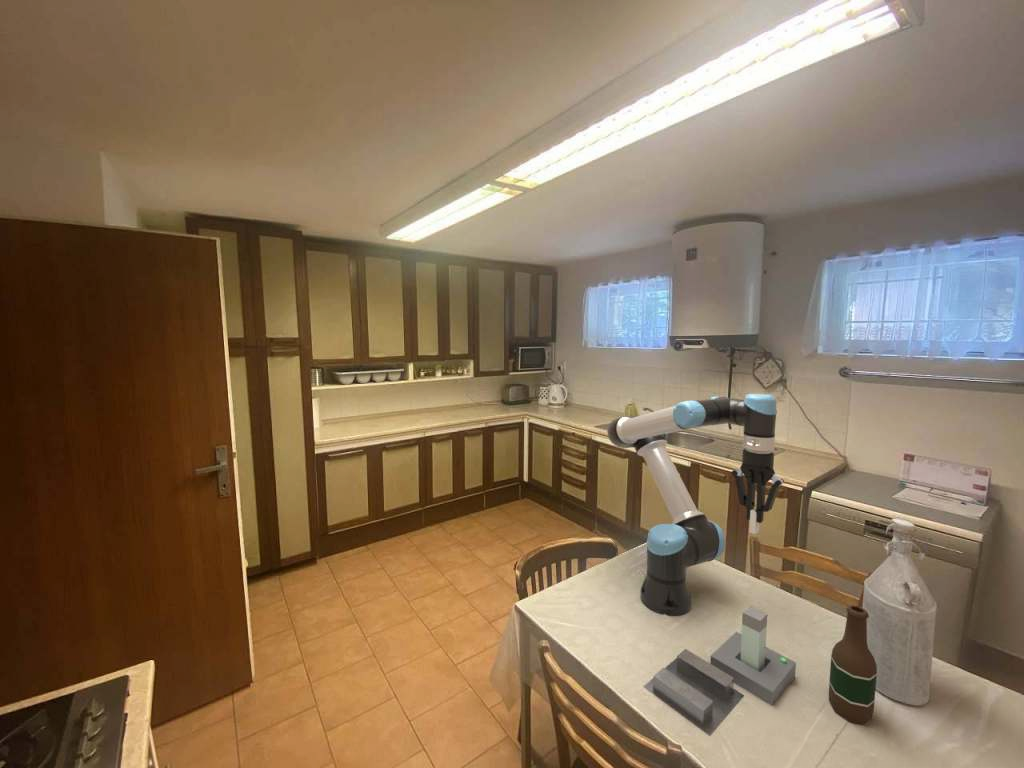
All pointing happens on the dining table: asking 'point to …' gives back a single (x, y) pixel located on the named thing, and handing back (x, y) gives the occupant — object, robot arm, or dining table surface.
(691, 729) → the dining table surface
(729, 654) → the port
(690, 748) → the dining table surface
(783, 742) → the dining table surface
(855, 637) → the beer bottle
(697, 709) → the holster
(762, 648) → the plug
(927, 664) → the canister
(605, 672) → the dining table surface
